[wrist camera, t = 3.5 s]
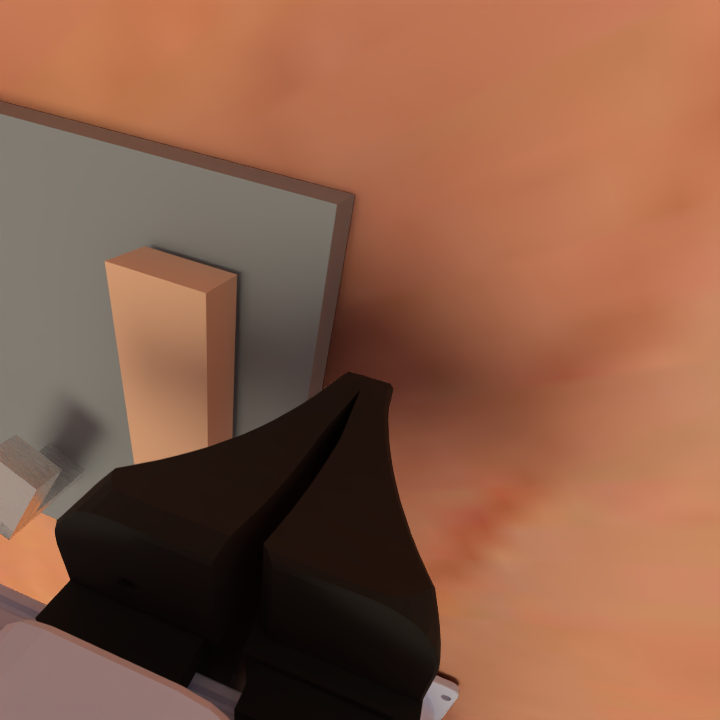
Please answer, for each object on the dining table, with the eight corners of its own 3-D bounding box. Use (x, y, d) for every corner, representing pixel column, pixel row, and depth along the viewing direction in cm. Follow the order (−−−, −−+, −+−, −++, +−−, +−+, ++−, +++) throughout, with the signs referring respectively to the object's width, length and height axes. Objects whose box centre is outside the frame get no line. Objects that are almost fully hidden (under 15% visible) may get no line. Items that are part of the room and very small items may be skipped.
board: (288, 586, 23) (275, 613, 21) (-20, 457, 26) (-47, 474, 24) (354, 194, 12) (337, 204, 11) (-189, 51, 15) (-253, 45, 14)
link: (233, 577, 20) (175, 677, 17) (167, 549, 21) (96, 640, 17) (246, 277, 12) (136, 347, 8) (135, 243, 13) (-12, 296, 9)
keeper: (113, 427, 18) (36, 489, 15) (79, 479, 21) (8, 539, 18) (74, 395, 18) (-12, 452, 15) (44, 452, 20) (-33, 509, 17)
